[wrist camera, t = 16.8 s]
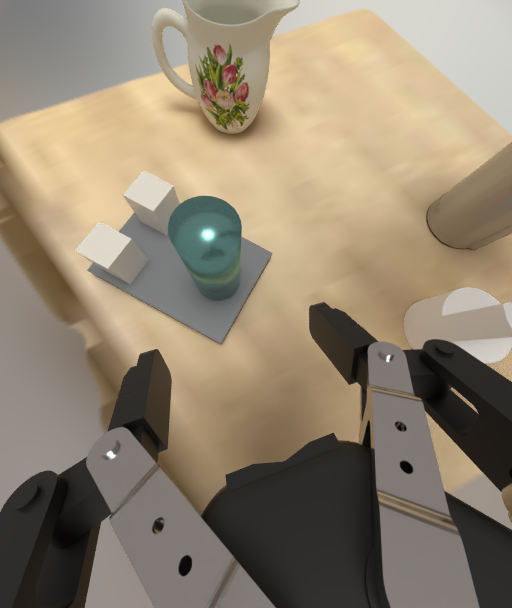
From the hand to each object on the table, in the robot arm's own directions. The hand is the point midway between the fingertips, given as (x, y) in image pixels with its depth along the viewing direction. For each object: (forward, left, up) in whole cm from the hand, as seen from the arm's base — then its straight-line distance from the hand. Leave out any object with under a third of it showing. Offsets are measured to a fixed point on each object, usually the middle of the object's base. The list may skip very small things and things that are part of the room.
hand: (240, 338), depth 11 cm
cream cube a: (+18, -3, -16) cm, 24 cm away
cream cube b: (+18, -11, -16) cm, 26 cm away
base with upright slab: (-23, -16, -18) cm, 33 cm away
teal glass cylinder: (+6, -7, -16) cm, 18 cm away
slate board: (+12, -7, -17) cm, 22 cm away
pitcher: (+21, -33, -17) cm, 42 cm away
